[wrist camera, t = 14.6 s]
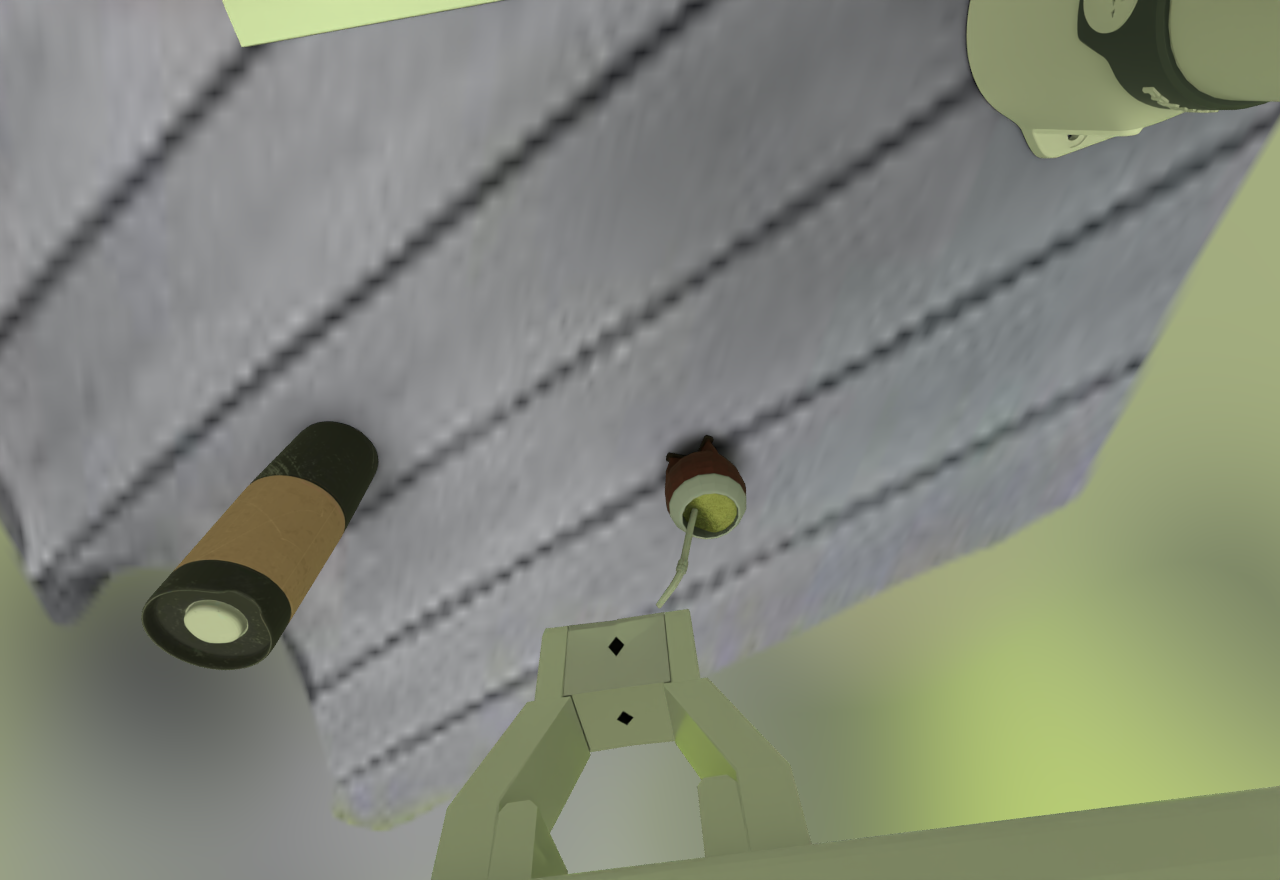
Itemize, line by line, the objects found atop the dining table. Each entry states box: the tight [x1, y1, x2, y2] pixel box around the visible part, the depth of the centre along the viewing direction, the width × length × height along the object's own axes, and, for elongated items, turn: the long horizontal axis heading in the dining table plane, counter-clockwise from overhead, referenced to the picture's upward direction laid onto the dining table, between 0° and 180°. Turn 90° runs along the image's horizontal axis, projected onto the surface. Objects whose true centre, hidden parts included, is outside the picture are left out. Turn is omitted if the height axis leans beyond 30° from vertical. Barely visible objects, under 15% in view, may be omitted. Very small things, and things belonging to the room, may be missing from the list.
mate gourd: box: [656, 435, 746, 608], centre depth 48 cm, size 8×8×15 cm
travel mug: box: [142, 422, 378, 670], centre depth 44 cm, size 8×8×20 cm
